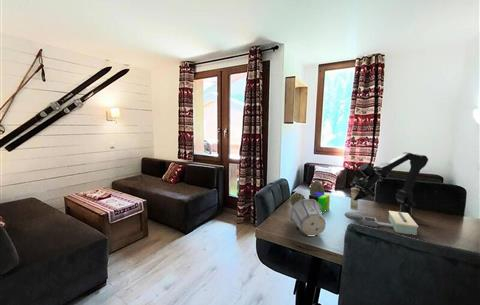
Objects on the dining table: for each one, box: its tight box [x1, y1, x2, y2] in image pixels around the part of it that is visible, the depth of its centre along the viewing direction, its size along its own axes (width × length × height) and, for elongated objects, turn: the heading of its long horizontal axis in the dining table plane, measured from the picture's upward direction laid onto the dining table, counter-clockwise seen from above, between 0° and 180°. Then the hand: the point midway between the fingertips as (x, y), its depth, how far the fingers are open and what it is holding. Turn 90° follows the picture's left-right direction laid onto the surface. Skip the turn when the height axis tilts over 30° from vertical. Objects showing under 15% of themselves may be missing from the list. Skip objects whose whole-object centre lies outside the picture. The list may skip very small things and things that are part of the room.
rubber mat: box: [344, 211, 363, 220], centre depth 141 cm, size 10×10×1 cm
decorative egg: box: [309, 180, 325, 195], centre depth 171 cm, size 11×11×15 cm
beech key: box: [350, 187, 359, 211], centre depth 139 cm, size 5×5×13 cm
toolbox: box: [361, 210, 419, 236], centre depth 128 cm, size 19×24×6 cm
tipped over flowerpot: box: [289, 192, 327, 236], centre depth 127 cm, size 18×18×30 cm
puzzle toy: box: [308, 192, 331, 213], centre depth 152 cm, size 10×10×10 cm
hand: (352, 198), depth 139 cm, fingers closed on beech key, 4 cm apart
